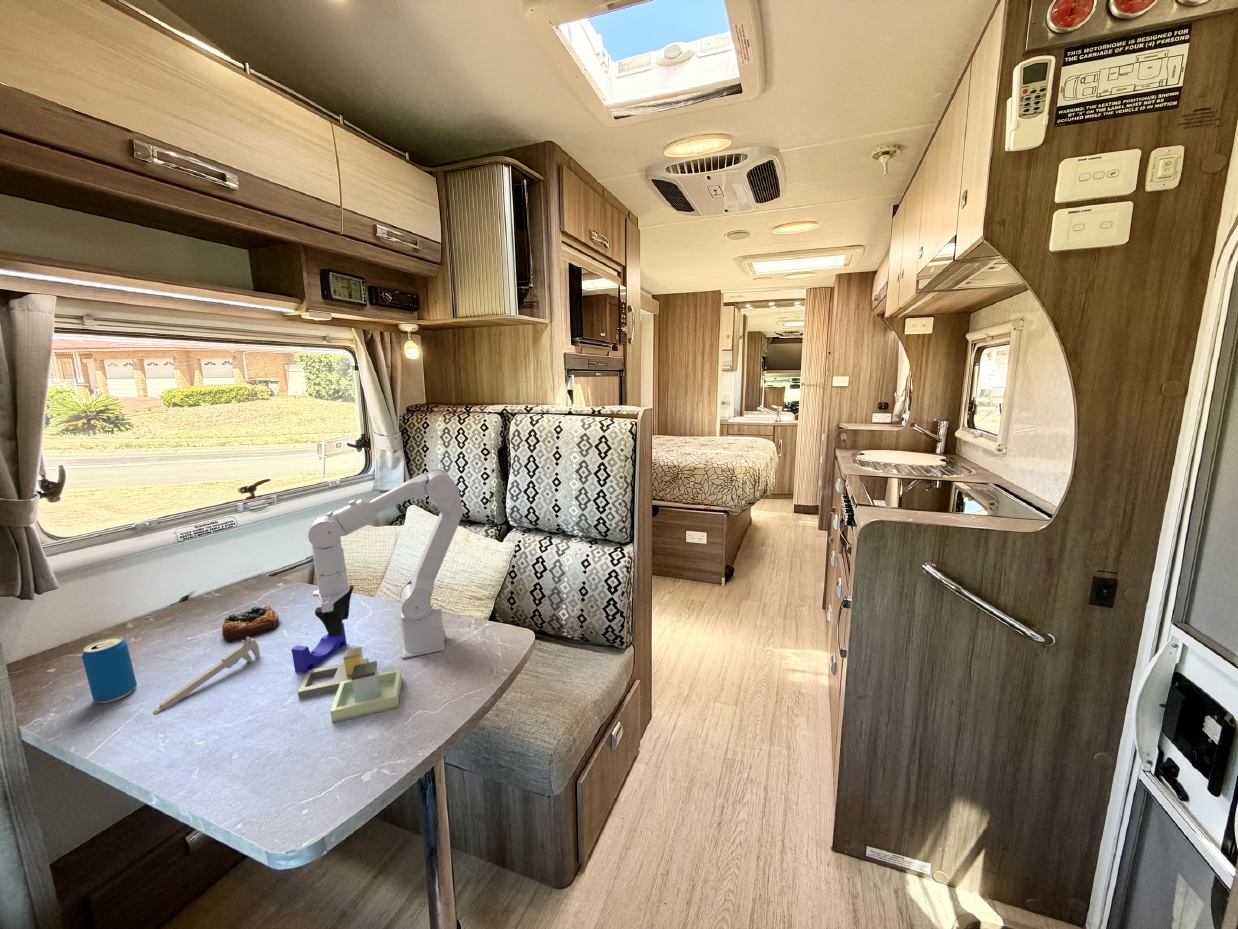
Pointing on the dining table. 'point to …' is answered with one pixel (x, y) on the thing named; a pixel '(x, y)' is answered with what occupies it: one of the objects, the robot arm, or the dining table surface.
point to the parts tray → (387, 700)
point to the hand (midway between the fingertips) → (339, 627)
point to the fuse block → (340, 671)
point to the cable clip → (317, 652)
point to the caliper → (214, 671)
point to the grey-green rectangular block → (365, 682)
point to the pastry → (249, 623)
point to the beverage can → (109, 669)
